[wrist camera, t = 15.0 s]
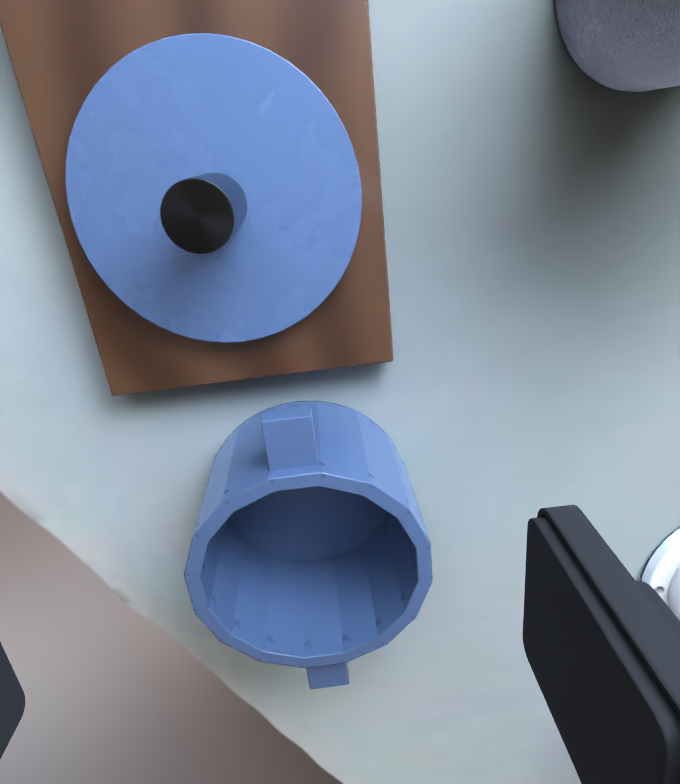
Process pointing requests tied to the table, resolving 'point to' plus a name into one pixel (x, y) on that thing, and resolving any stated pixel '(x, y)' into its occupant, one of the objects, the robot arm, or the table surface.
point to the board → (290, 41)
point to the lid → (213, 187)
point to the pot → (308, 541)
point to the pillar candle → (624, 41)
